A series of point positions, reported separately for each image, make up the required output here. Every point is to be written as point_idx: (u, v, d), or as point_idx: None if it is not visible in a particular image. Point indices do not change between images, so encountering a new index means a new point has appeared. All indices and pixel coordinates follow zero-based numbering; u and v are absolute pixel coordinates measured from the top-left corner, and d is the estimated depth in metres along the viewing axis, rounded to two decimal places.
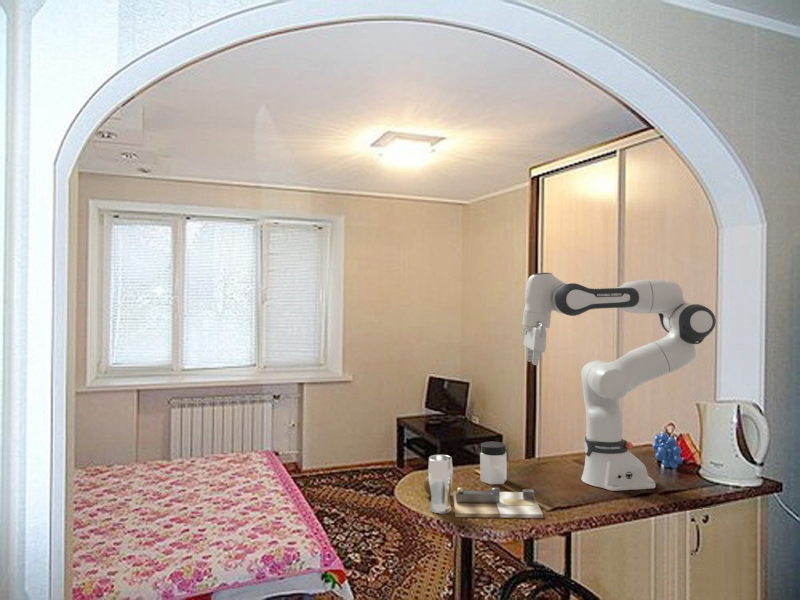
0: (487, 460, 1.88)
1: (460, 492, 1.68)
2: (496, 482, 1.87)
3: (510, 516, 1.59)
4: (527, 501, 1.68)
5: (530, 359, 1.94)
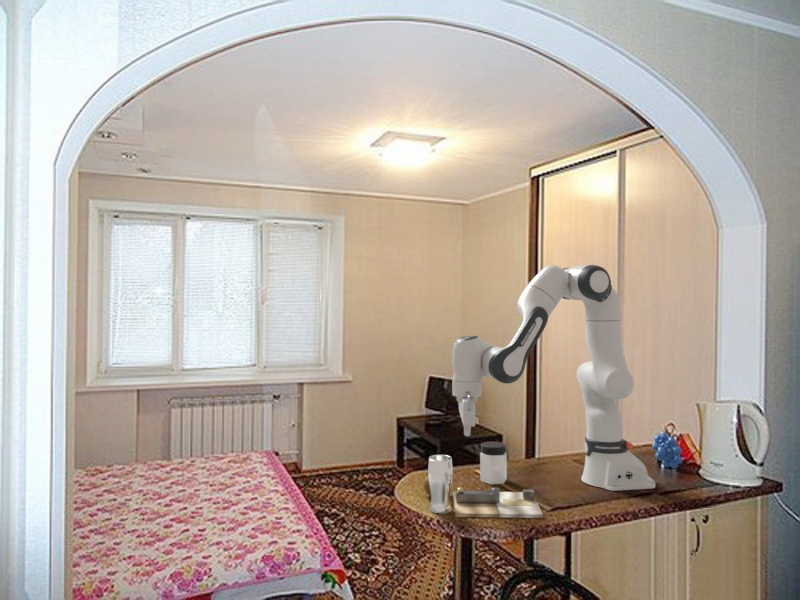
0: (487, 460, 1.88)
1: (460, 492, 1.68)
2: (496, 482, 1.87)
3: (510, 516, 1.59)
4: (527, 501, 1.68)
5: None
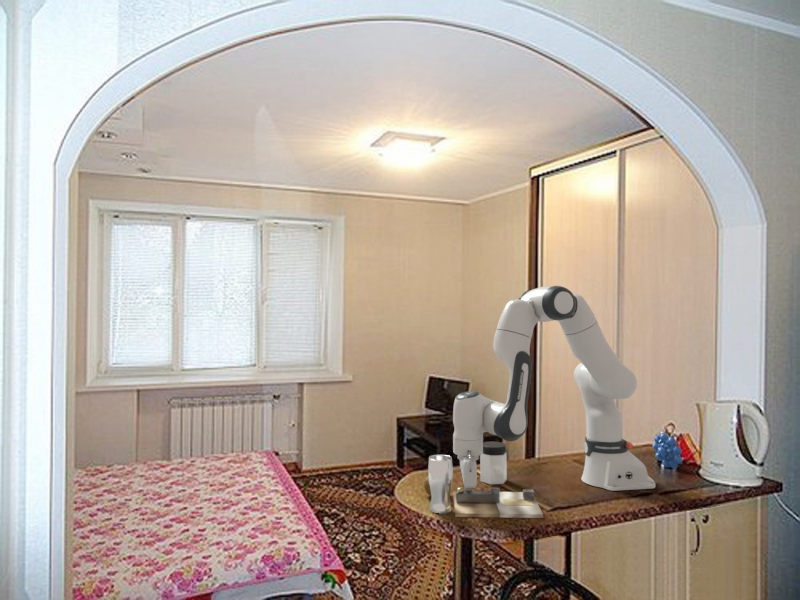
0: (487, 460, 1.88)
1: (460, 492, 1.68)
2: (496, 482, 1.87)
3: (510, 516, 1.59)
4: (527, 501, 1.68)
5: None
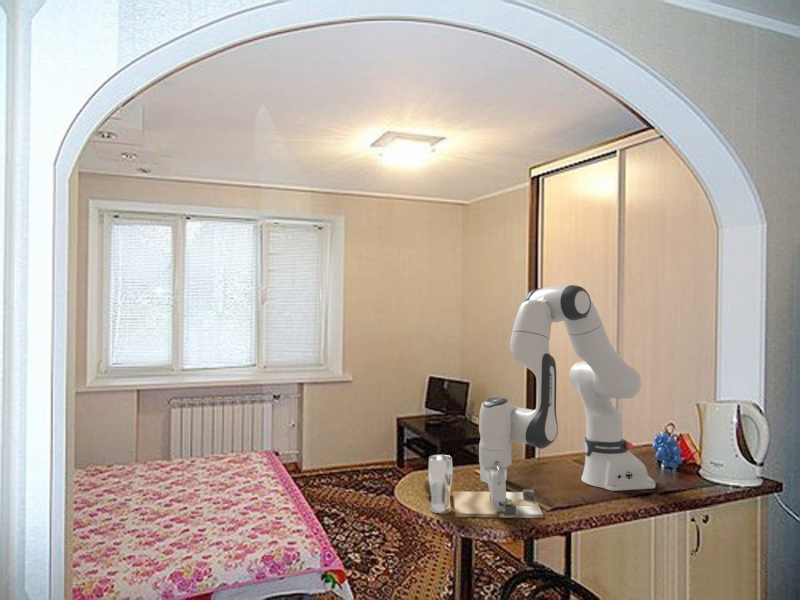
0: None
1: (512, 503, 1.59)
2: None
3: (510, 516, 1.59)
4: (527, 501, 1.68)
5: None
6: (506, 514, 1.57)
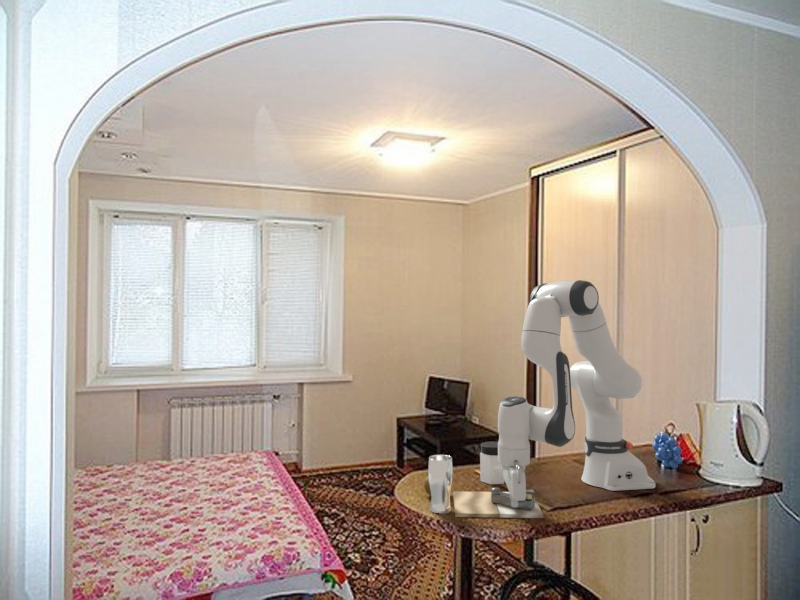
0: (487, 460, 1.88)
1: None
2: (496, 482, 1.87)
3: (510, 516, 1.59)
4: None
5: None
6: (531, 509, 1.61)
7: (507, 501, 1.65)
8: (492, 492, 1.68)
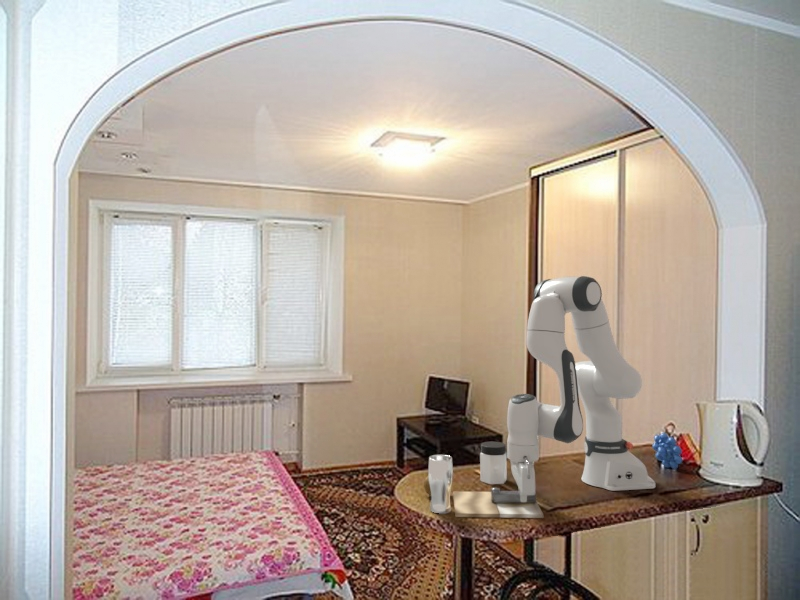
0: (487, 460, 1.88)
1: None
2: (496, 482, 1.87)
3: (510, 516, 1.59)
4: None
5: None
6: None
7: (511, 498, 1.67)
8: (494, 492, 1.67)
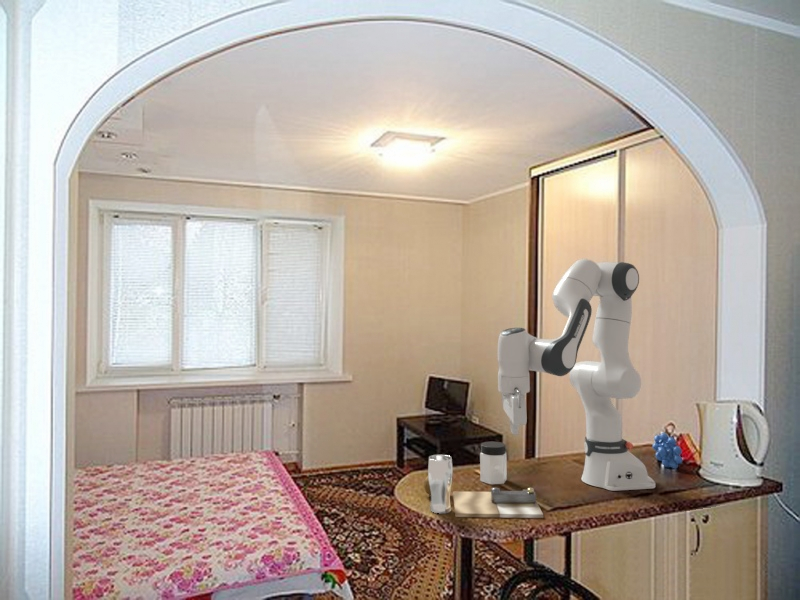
0: (487, 460, 1.88)
1: None
2: (496, 482, 1.87)
3: (510, 516, 1.59)
4: None
5: None
6: None
7: (511, 498, 1.67)
8: (494, 492, 1.67)
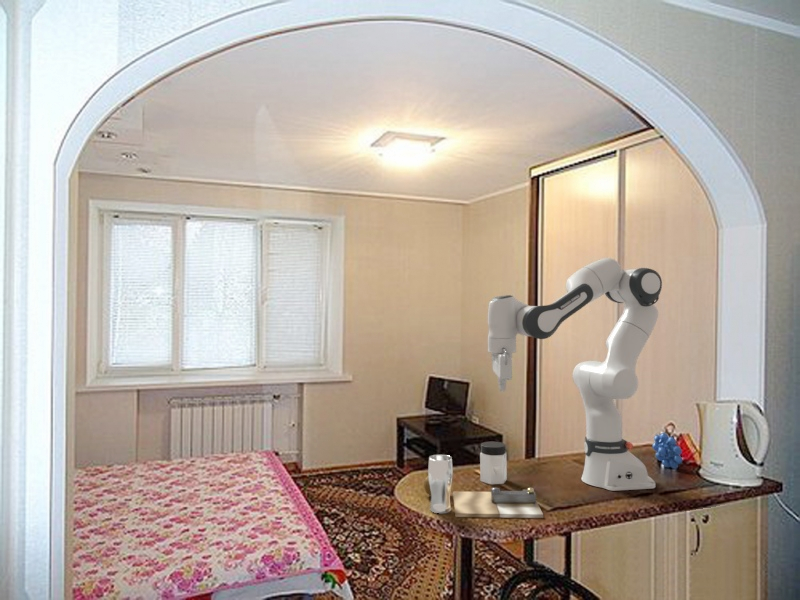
0: (487, 460, 1.88)
1: None
2: (496, 482, 1.87)
3: (510, 516, 1.59)
4: None
5: None
6: None
7: (511, 498, 1.67)
8: (494, 492, 1.67)
